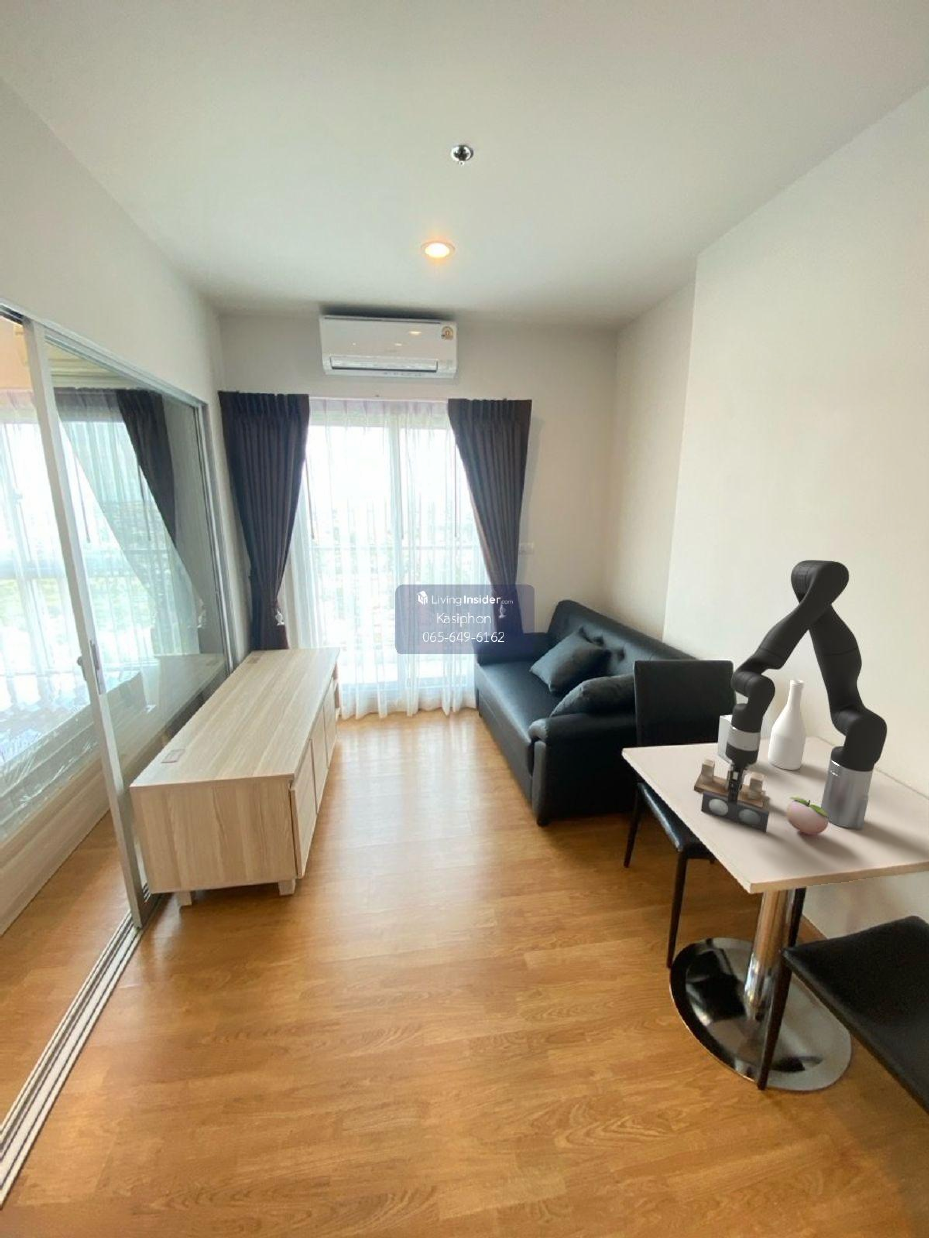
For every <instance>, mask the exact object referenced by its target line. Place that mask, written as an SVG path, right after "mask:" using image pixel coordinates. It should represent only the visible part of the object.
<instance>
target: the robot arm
mask: <svg viewBox="0 0 929 1238" xmlns="http://www.w3.org/2000/svg"><path fill="white" fill-rule="evenodd" d="M790 573H791V574H790V583H791V588H792V590H793V593H794V595H795V598H796V599H797V602H798V605H797V606H796V607H795V608H794V609H793V610H792V611H791V612H790V613H788V614H787V615H786V616H785V617H783V618H782V619H780V620H779V621H778V622H777V623H775V624H774V626H772V627H771V629H770V630H768V631H767V633H766V634H765V635H764V637H763V638H762V640H761V642H760V643H759V645H758V647H757V648H756V650H755V652H754V653H753V654H751V655H750V656H749V657H748V658H747V659H746V660H745V661H744V662H743V663H742V664H741V665H739V667H737V668H736V669H735V670H734V672H733V674H732V675H731V679H730V686H731V689H733V691H734V692H736V693H737V694H739V695H741V696H743V697H745V698H747V701H746V703H745V702H741V703H737V704H735V705H734V706H733V709H732V714H731V715H732V719H731V725H730V728H729V732H728V738H727V745H726V751H725V754H726V756H727V757H728V758H729V759H730V760H732V764H730V765H729V766H730V774H729V785H728V788H727V789H728V791H729V794H728V800H727V801H728V802H729V803H731V804H734V805H736V804H737V800H738V794H739V792H740V790H741V789H742V785H743V784H744V783H745V782H744V781H745V777H746V775H747V773H748V770H749V766H750V765H751V766H752V765H755V764H756V763H757V762H758V756H759V750H760V745H761V739H762V726H763V721H764V717H765V714H766V712H767V710H769V707H770V705H771V704H772V702H773V701H774V697H775V695H776V685H775V683H774V681H773V680H772V679H771V678H770V677H769V676H766V675H764V673H765V672H766V671H768V670H774V671H775V670H781V669H782V668H783V667H784V666H785V664H786V663H787V661H788V660H789V658H790V656H791V655H792V653H793V651H794V650H795V648H796V647H797V646H798V644H799V643H800V641H801V640H802V639H803V637H804V635H806V633H807V632H808V633H809V636H810V639H811V643H812V647H813V651H814V654H815V658H816V662H817V665H818V667H819V672H820V673H821V678H822V681H823V684H824V687H825V690H826V694H827V701H828V709H829V714H830V720H831V723H832V725H833V726H834V728H835V730H836V731H837V732H839V733H840V734H841V735H843V736H844V737H845V739H844V742H843V745H839V746H837V745H836V746H835V747H833V748H832V749H831V752H830V757H829V761H828V762H829V763H828V767H827V773H826V778H825V784H824V788H823V794H822V800H821V803H820V804H821V805H820V808H822V809H823V810H824V811H825V813H826V814H827V816H828V818H829V819H828V822H830V823H832V824H834V825H836V826H839V827H842V828H847V829H858V830H862V829H863V826H864V821H865V818H866V817H865V816H866V812H867V806H868V803H869V791H870V787H871V786H870V785H871V782H872V777H873V773H874V768H875V765H876V764H878V762H879V760H880V759H881V756H882V752H883V751H884V746H885V743H886V738H887V736H888V726H887V722H886V720H885V719H884V718H883V717H882V716H880V715H879V714H877V713H875V712H874V711H873V710H870V709H869V708H868V707H866V705H864V702H863V700H862V697H861V695H860V691H859V688H858V680H859V676H860V674H861V671H862V667H863V666H862V665H863V659H862V655H861V651H860V648H859V643H858V640H857V638H856V636H855V634H854V633H853V631H852V630H851V629H850V627H849V626H848V625H847V623H845V621H844V620H843V618H842V617H840V615H839V614H838V613H837V612H836V610H835V608H834V606H833V603H834V602H835V601H836V600H837V599H838V598H839V597H840V595H841V594H842V593H843V592H844V591H845V589H846V587H847V585H848V583H849V582H850V581H849V580H850V572H849V570H848V568H847V566H846V565H845V564H843V563H841V562H839V561H834V560H819V559H806V560H802V561H800V562H798V563H797V564H795V565H794V566H793V568H792V570H791V572H790ZM732 784H733V787H732Z"/></svg>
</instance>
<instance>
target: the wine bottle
mask: <svg viewBox="0 0 929 1238" xmlns="http://www.w3.org/2000/svg"><path fill="white" fill-rule="evenodd" d="M789 683H790V684H789V693H788V698H787V703H786V705H785V706H784V708H783V709H782V711H781V713H780V715H779V716H778V717H777V719H776V720H775V722H774V724H773V725H772V727H771V728H772V729H771V735H770V740H769V746H768V752H767V760H768V762H769V763H770V764H771V765H773V766H775V767H777V768H780V769H783V770H789V771H795V770H798V769H800V767H801V766H802V763H803V757H804V751H805V746H806V740H807V733H806V727H805V724H804V718H803V715H802V709H801V702H802V701H801V700H802V694H803V693H802V691H803V689H804V687H805V683H804V681H803V680H801V679H796V678H793V679H791V681H790V682H789Z"/></svg>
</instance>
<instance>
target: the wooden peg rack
mask: <svg viewBox="0 0 929 1238" xmlns="http://www.w3.org/2000/svg"><path fill="white" fill-rule="evenodd" d="M702 761H703V762H702V763H701V771H700V773H699V775H698V777H697V779H696V781H695V783H694V786H693V791H695V792H698V793H702V794H703V792H704V791H707V792H710V793H713V794H717V795H720V796H723V797H726V798H728V794H729V791H728V789H727V788H728V785H729V774H730V765H729V767H728V769H727V773H726V778H723V777H720V776H716V775H715V767H716V761H715V760H712V759H708V758H704V759H703V760H702ZM764 776H765V775H764V774H762V773H757V772H754V771H752V772H751V775H750V779H749V785H746V784H744V783H743V785H742V789H741V790H740V792H739V794H738V800H737V801H738V802H742V803H745V804H748V805H751V806H754V807H757V808H760V809H763V806H764V802H765V798H766V794H767V791H766V790H764V789H763V784H764ZM732 787H733V784H732Z"/></svg>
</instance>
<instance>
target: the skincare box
mask: <svg viewBox="0 0 929 1238" xmlns="http://www.w3.org/2000/svg"><path fill="white" fill-rule="evenodd" d="M731 719H732V714H728V715H727V714H726V715H720V716H719V726H718V737H717V738H718V740H717V750H716V755H718V756H719V757H721V758H722V759H724V761H726V762H727V763H728V764H730V765H731V764H732V760H730V759H729V758H728V757H727V756H726V754H725V751H726V745H727V738H728V732H729V728H730V725H731Z"/></svg>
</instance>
